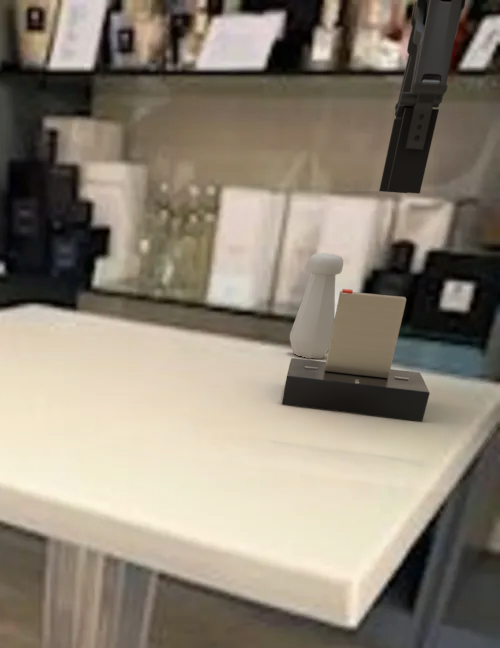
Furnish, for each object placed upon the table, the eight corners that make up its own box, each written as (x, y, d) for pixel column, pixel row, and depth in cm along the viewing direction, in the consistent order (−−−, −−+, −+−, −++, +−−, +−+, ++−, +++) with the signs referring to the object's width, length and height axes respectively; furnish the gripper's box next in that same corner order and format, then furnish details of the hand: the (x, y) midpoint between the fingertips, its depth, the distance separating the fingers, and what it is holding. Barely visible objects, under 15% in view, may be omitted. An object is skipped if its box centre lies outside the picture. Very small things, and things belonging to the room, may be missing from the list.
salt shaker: (294, 358, 116) (313, 254, 111) (280, 350, 122) (298, 250, 116) (337, 360, 117) (357, 257, 111) (321, 352, 122) (340, 253, 116)
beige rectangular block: (387, 375, 93) (405, 294, 90) (388, 378, 92) (407, 296, 88) (324, 368, 95) (340, 288, 91) (324, 371, 93) (340, 290, 90)
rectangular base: (413, 399, 98) (420, 370, 96) (422, 421, 88) (430, 390, 87) (286, 384, 101) (291, 356, 100) (281, 404, 91) (287, 373, 90)
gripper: (400, -49, 86) (353, 189, 95) (426, -130, 64) (361, 189, 73) (482, -48, 84) (426, 194, 94) (536, -131, 63) (456, 195, 72)
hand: (397, 192), depth 84 cm, fingers open, 13 cm apart
